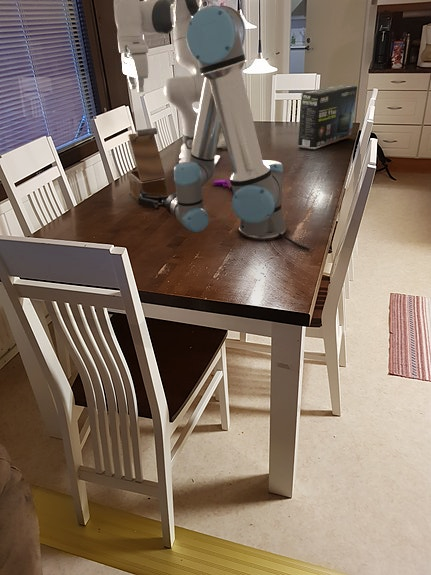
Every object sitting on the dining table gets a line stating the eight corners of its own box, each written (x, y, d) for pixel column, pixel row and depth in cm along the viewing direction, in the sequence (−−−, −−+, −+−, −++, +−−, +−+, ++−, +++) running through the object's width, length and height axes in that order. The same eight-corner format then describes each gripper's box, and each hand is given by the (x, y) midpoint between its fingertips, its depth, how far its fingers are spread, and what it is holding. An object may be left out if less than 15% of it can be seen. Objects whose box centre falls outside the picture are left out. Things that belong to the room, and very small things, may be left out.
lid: (128, 135, 168) (132, 126, 160) (152, 131, 171) (158, 122, 163) (140, 182, 168) (145, 175, 160) (164, 177, 172) (170, 171, 164)
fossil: (227, 144, 234) (207, 125, 237) (216, 161, 241) (197, 143, 244) (244, 142, 248) (225, 124, 251) (234, 158, 254) (215, 141, 258)
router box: (314, 151, 231) (318, 94, 217) (296, 148, 237) (299, 92, 224) (352, 138, 251) (358, 85, 238) (335, 135, 258) (340, 83, 245)
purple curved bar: (213, 184, 193) (212, 179, 192) (230, 182, 194) (230, 177, 193) (223, 200, 176) (222, 195, 175) (242, 198, 177) (242, 193, 176)
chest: (130, 193, 186) (127, 171, 182) (153, 189, 190) (150, 167, 185) (144, 207, 173) (141, 183, 168) (167, 202, 176) (165, 178, 172)
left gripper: (115, 45, 161) (120, 88, 168) (130, 48, 145) (136, 95, 152) (132, 44, 163) (137, 86, 170) (149, 46, 147) (154, 93, 154)
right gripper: (144, 226, 144) (127, 206, 161) (216, 209, 152) (193, 192, 169) (141, 203, 140) (123, 185, 157) (215, 187, 148) (191, 172, 165)
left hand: (136, 90), depth 161 cm, fingers open, 8 cm apart
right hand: (159, 189), depth 163 cm, fingers open, 13 cm apart
